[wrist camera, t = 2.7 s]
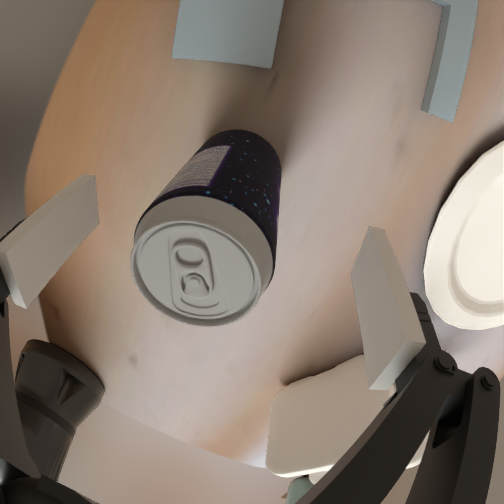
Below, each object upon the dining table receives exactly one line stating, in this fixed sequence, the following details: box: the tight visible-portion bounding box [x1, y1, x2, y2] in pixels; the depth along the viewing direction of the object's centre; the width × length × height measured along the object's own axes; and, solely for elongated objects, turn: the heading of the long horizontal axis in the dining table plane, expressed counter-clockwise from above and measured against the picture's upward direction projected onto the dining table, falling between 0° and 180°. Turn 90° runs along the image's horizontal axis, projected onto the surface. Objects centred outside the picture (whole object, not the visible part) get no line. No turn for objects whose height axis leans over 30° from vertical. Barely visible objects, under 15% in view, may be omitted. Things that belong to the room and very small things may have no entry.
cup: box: [286, 477, 314, 504], centre depth 55 cm, size 8×8×10 cm
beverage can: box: [131, 130, 281, 327], centre depth 16 cm, size 6×6×12 cm
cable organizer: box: [266, 355, 429, 485], centre depth 29 cm, size 15×11×12 cm
